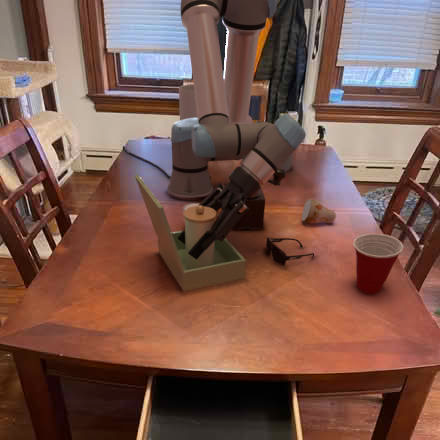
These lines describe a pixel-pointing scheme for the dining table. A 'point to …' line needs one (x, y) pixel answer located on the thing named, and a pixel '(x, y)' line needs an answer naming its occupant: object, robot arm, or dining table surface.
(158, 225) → the box lid
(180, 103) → the cylinder vase
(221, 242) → the box
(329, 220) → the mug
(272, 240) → the sunglasses
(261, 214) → the brown manual coffee grinder
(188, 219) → the canister
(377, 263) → the plastic cup
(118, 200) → the dining table surface
